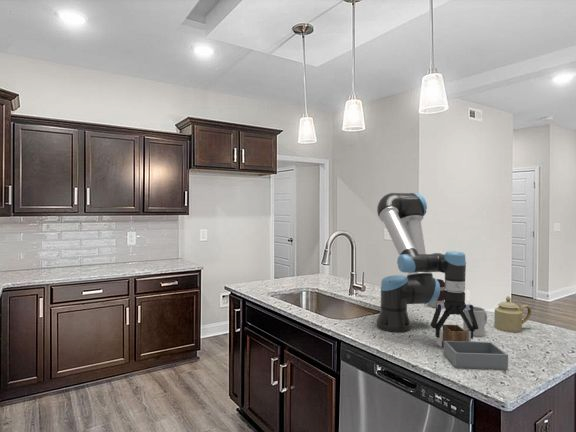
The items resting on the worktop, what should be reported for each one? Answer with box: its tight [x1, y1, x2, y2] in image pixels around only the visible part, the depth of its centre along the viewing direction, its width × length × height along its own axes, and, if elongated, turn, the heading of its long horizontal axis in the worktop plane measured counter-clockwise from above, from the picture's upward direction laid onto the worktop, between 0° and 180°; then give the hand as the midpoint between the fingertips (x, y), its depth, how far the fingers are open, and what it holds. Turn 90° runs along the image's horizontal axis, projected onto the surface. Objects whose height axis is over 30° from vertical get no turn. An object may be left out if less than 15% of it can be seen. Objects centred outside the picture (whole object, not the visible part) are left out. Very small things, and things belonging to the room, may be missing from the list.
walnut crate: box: [442, 324, 466, 345], centre depth 152 cm, size 6×9×8 cm, turn 176°
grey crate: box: [443, 341, 509, 370], centre depth 138 cm, size 17×12×5 cm
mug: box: [462, 306, 488, 337], centre depth 169 cm, size 12×8×11 cm
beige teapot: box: [493, 295, 532, 333], centre depth 176 cm, size 15×11×15 cm
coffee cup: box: [429, 278, 446, 309], centre depth 214 cm, size 10×10×15 cm
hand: (453, 346), depth 152 cm, fingers open, 10 cm apart
